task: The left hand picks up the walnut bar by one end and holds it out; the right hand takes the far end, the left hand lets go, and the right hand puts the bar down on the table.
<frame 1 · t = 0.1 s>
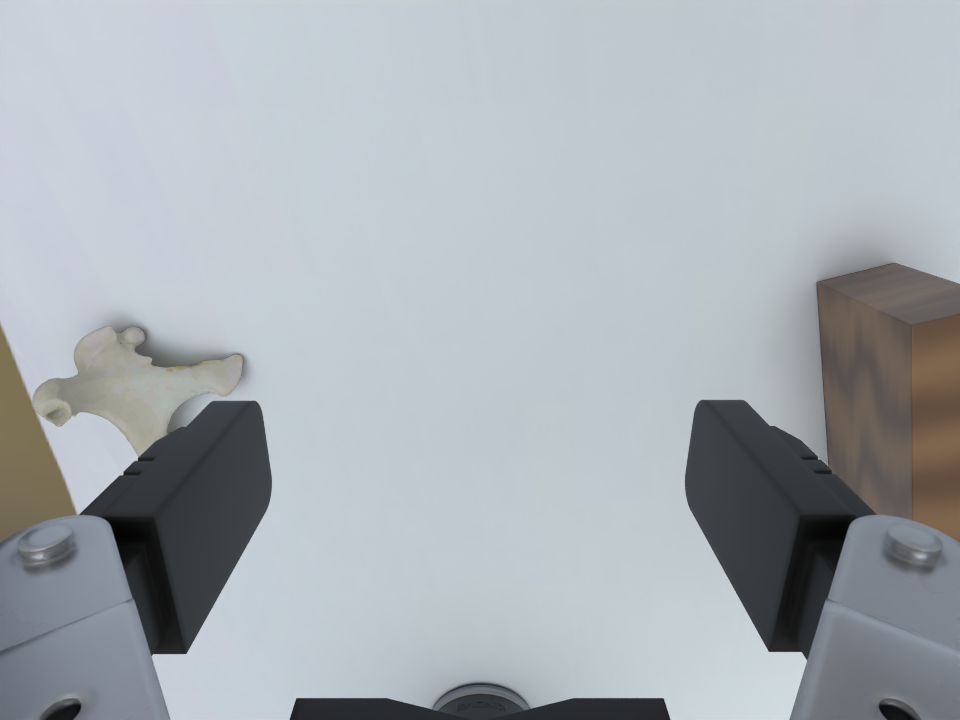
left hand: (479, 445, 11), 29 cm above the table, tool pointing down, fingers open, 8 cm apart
bar: (861, 429, 44), on the table
bone: (173, 389, 43), on the table
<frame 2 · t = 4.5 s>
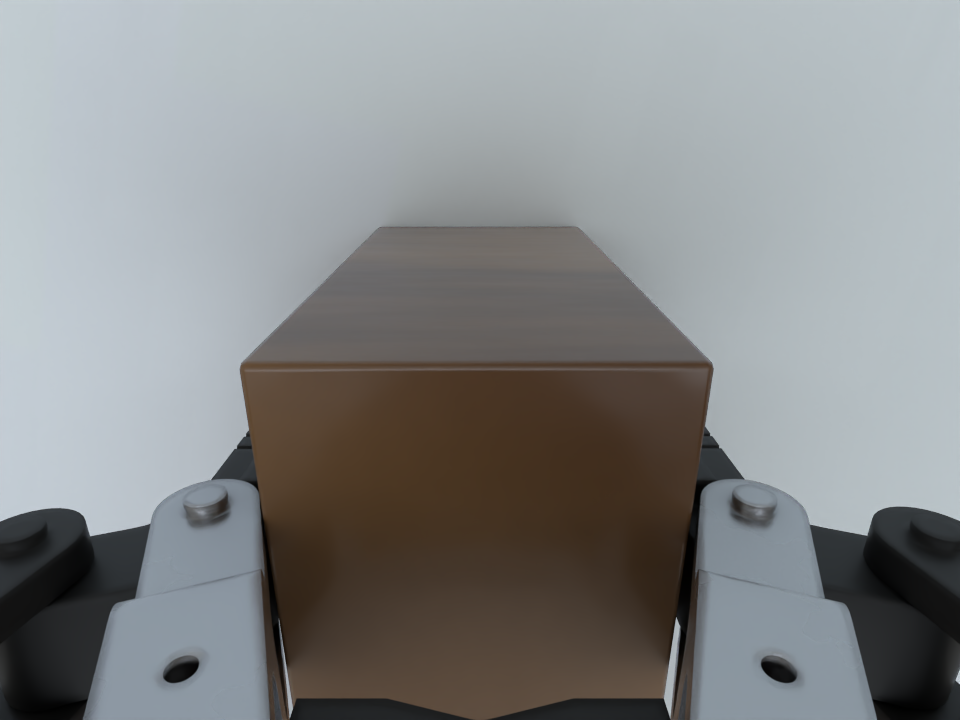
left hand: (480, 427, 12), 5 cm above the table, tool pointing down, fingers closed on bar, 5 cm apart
bar: (479, 603, 20), on the table, touching left hand
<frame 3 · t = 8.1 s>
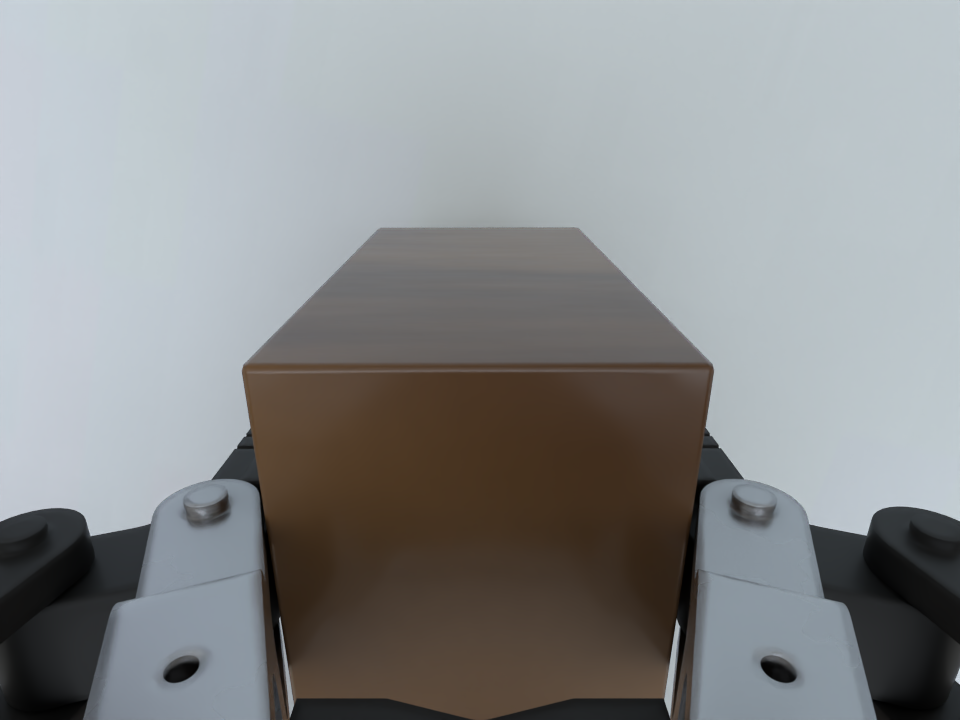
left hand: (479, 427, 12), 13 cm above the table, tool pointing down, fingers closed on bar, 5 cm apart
bar: (479, 603, 20), point 8 cm above the table, touching left hand, right hand
when the left hand's fingers open (13 cm above the table, at t = 9.2 s): bar stays where it is, held by the right hand.
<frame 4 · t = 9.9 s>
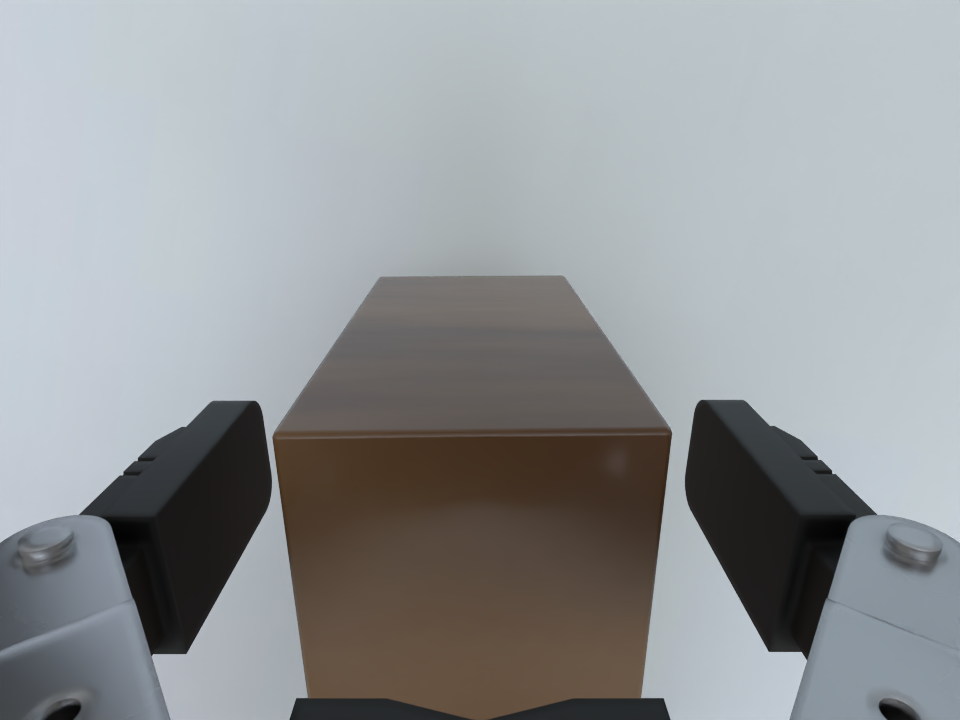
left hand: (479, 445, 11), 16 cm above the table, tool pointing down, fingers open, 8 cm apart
bar: (474, 625, 21), point 9 cm above the table, touching right hand
when the right hand's fingers open (5 cm above the table, at t = 15.0 s): bar stays where it is, on the table.
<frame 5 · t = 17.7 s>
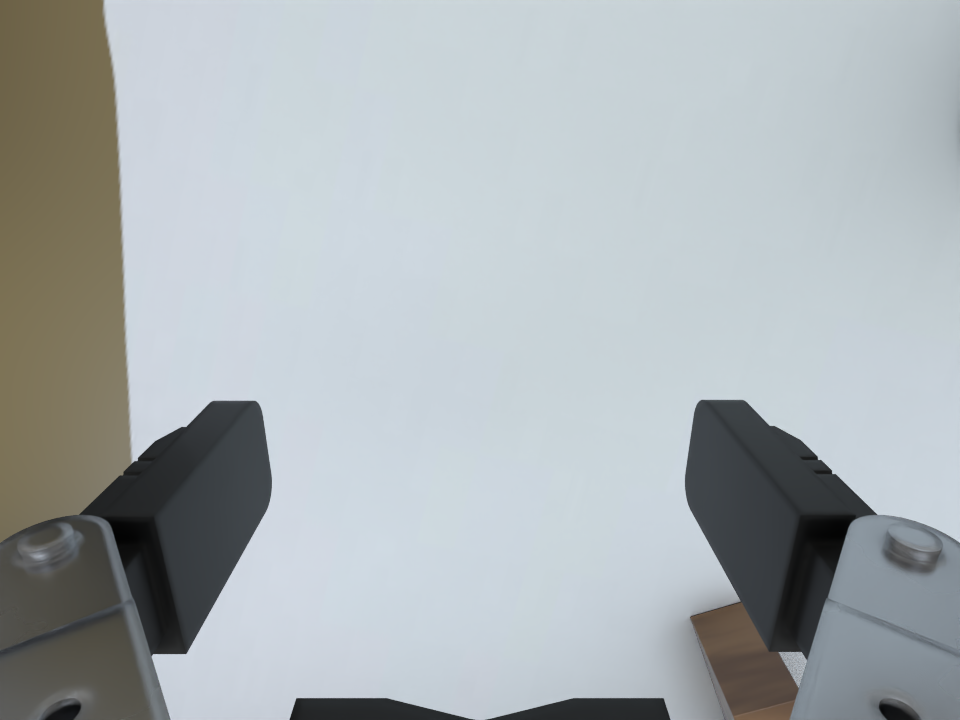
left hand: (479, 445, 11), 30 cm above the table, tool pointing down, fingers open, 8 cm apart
bar: (749, 703, 55), on the table
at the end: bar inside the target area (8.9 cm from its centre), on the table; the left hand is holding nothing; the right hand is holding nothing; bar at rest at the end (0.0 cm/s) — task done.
